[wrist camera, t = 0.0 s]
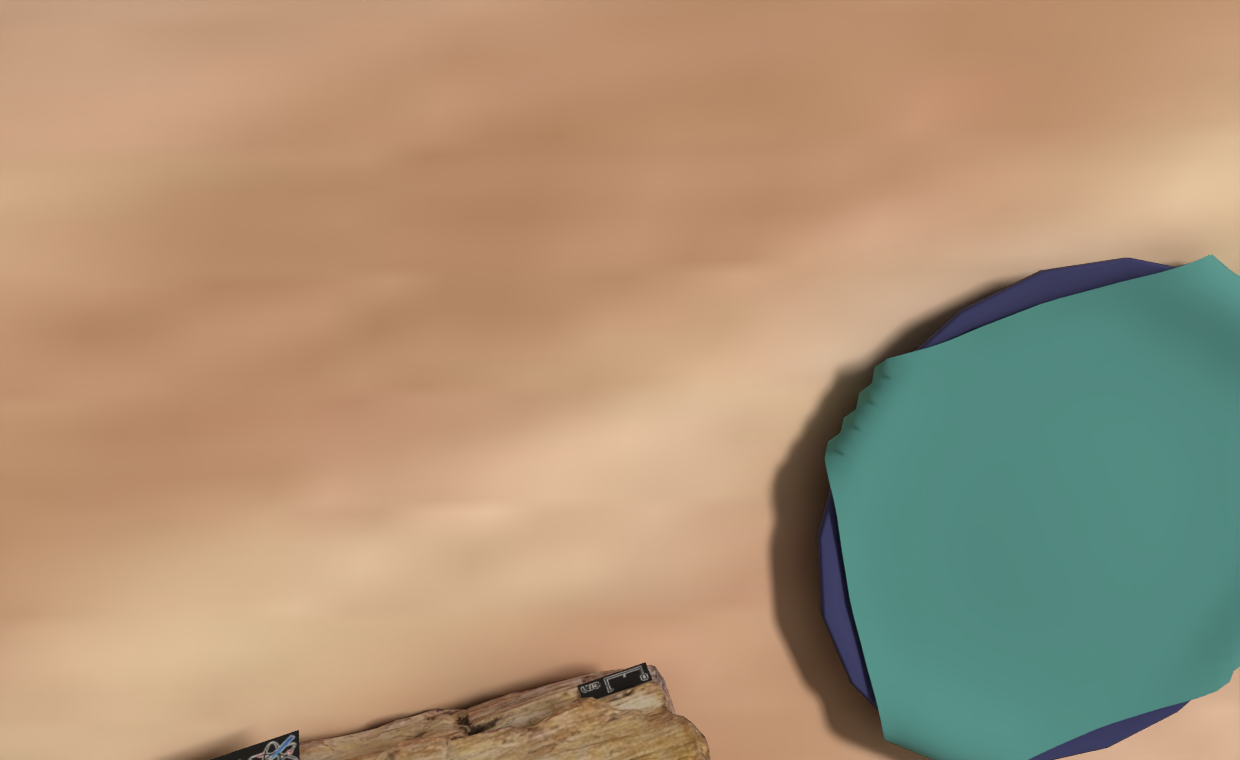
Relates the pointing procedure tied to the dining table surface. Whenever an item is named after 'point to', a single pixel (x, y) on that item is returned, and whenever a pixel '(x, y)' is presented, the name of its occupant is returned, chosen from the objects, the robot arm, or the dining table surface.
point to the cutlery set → (1044, 515)
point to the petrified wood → (524, 727)
